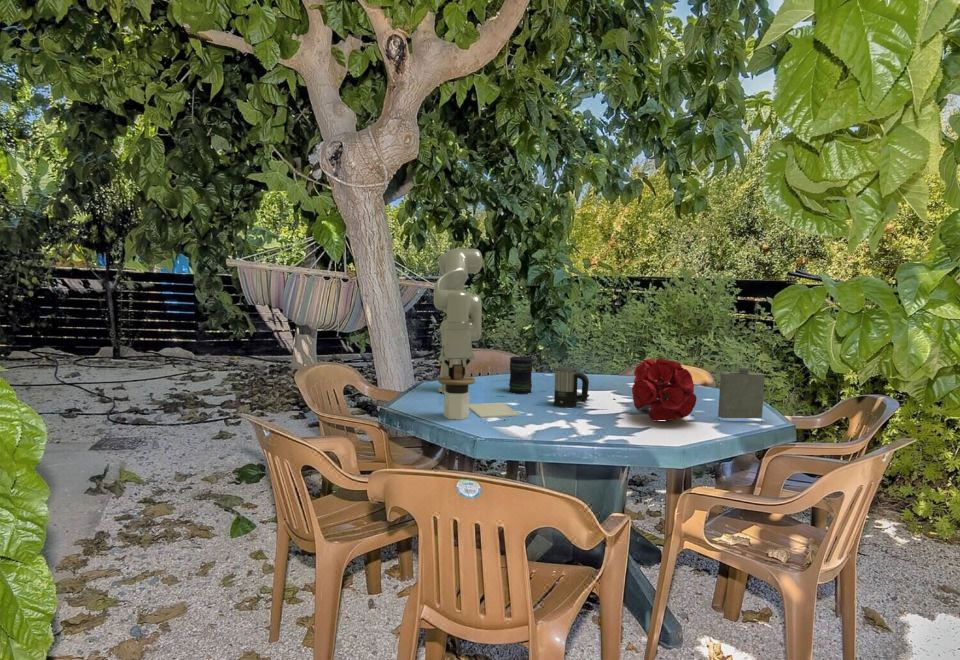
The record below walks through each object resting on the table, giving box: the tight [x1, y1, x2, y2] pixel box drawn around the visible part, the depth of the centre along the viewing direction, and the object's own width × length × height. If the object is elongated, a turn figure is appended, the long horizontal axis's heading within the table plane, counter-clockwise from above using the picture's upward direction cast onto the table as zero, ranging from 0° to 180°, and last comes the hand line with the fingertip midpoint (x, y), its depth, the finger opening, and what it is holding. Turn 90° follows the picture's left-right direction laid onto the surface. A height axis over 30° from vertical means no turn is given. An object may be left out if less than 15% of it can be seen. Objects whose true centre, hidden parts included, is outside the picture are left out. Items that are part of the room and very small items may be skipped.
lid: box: [438, 364, 476, 386], centre depth 219 cm, size 13×13×6 cm
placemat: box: [469, 402, 521, 419], centre depth 232 cm, size 20×15×1 cm
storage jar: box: [508, 356, 533, 395], centre depth 268 cm, size 10×10×15 cm
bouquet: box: [631, 357, 698, 421], centre depth 226 cm, size 22×24×30 cm
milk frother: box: [553, 366, 590, 408], centre depth 247 cm, size 14×16×15 cm
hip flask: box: [717, 366, 766, 419], centre depth 225 cm, size 16×4×20 cm, turn 91°
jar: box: [443, 385, 470, 421], centre depth 221 cm, size 9×8×12 cm
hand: (456, 377), depth 219 cm, fingers closed on lid, 3 cm apart
